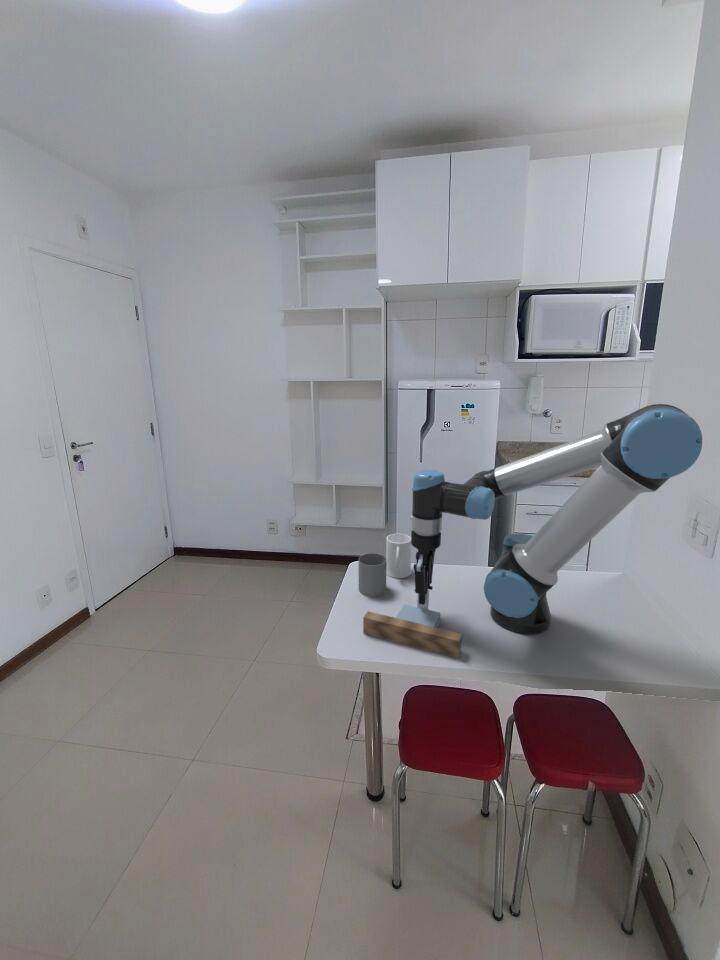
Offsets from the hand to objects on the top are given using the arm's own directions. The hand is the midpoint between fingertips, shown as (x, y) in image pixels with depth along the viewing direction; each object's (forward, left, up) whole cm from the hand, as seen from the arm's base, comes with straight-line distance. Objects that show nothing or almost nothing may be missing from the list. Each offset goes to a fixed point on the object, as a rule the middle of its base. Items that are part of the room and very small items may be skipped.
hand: (422, 612), depth 114 cm
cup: (+18, -8, -2) cm, 20 cm away
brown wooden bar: (0, +11, -2) cm, 11 cm away
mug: (+14, -20, -2) cm, 25 cm away
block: (0, +5, -2) cm, 5 cm away
